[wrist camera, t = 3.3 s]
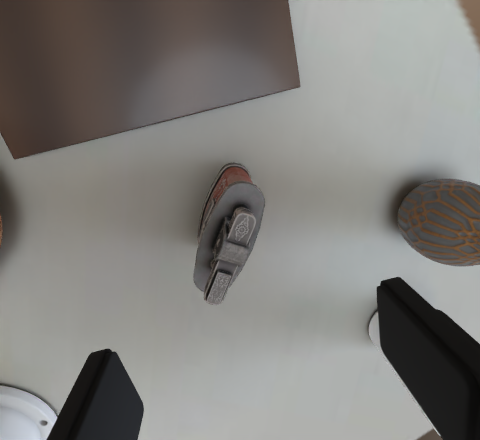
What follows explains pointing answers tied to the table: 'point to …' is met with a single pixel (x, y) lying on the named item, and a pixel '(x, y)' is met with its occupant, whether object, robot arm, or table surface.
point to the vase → (443, 221)
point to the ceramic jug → (0, 230)
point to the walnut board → (133, 64)
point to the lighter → (227, 231)
